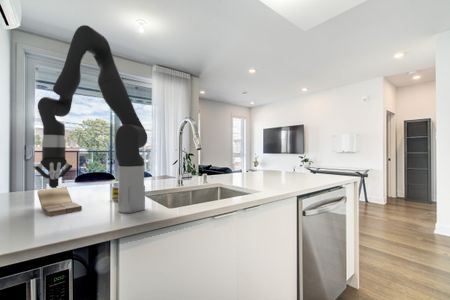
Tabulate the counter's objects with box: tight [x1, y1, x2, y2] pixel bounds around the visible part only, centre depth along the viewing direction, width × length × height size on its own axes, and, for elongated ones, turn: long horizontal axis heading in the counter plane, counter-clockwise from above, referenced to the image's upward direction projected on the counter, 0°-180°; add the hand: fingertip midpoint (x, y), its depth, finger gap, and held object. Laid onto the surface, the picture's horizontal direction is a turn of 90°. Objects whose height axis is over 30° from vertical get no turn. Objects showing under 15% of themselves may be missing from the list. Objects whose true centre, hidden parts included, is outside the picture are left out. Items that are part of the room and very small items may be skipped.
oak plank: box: [37, 186, 73, 211], centre depth 86 cm, size 10×10×2 cm
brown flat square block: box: [42, 201, 83, 217], centre depth 80 cm, size 10×10×2 cm
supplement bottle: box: [111, 181, 118, 202], centre depth 99 cm, size 5×5×8 cm
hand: (53, 187), depth 87 cm, fingers closed
